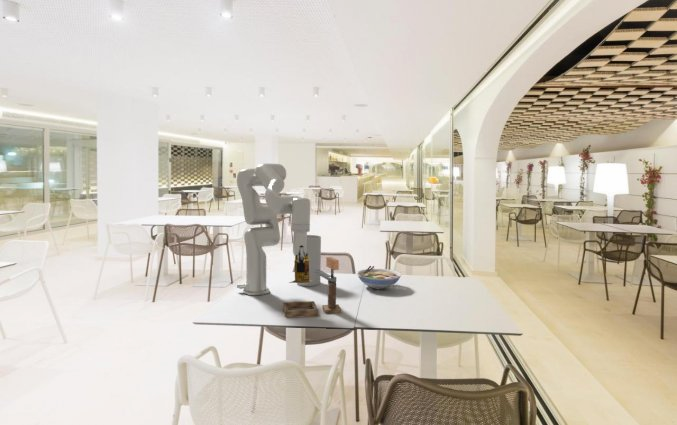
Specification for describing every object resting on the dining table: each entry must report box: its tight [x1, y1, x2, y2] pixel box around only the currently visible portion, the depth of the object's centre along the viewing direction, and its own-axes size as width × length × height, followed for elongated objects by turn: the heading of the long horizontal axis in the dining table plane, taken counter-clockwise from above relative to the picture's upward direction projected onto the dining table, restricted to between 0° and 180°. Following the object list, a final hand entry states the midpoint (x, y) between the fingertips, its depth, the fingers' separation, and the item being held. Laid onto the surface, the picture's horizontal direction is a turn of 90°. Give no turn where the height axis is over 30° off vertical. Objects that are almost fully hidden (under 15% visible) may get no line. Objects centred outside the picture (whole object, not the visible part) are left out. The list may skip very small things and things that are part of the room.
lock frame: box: [282, 281, 342, 318], centre depth 182 cm, size 24×12×12 cm, turn 101°
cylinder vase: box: [296, 234, 322, 287], centre depth 227 cm, size 12×12×25 cm
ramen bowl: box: [356, 265, 402, 290], centre depth 223 cm, size 25×23×8 cm
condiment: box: [287, 253, 311, 284], centre depth 181 cm, size 7×8×12 cm
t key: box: [314, 256, 340, 283], centre depth 189 cm, size 22×4×10 cm, turn 26°
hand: (299, 269), depth 180 cm, fingers closed on condiment, 6 cm apart
